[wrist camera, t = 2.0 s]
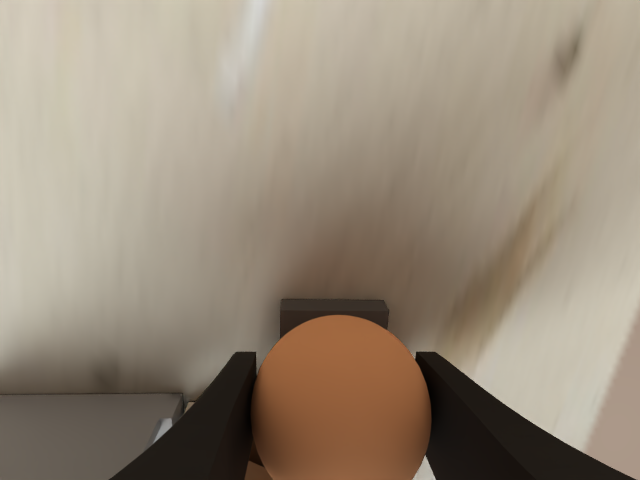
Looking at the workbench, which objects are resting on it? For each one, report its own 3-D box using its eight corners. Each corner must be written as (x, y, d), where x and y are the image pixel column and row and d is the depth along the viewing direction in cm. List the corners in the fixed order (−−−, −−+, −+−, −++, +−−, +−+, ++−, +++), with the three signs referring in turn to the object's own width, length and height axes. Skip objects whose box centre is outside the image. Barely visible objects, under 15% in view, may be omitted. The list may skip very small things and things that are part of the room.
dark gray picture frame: (374, 385, 14) (379, 400, 13) (280, 385, 13) (279, 401, 13) (383, 300, 13) (388, 311, 12) (281, 299, 12) (280, 310, 12)
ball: (394, 409, 13) (447, 564, 9) (261, 411, 13) (238, 572, 8) (409, 288, 12) (483, 392, 7) (259, 286, 12) (232, 394, 7)
